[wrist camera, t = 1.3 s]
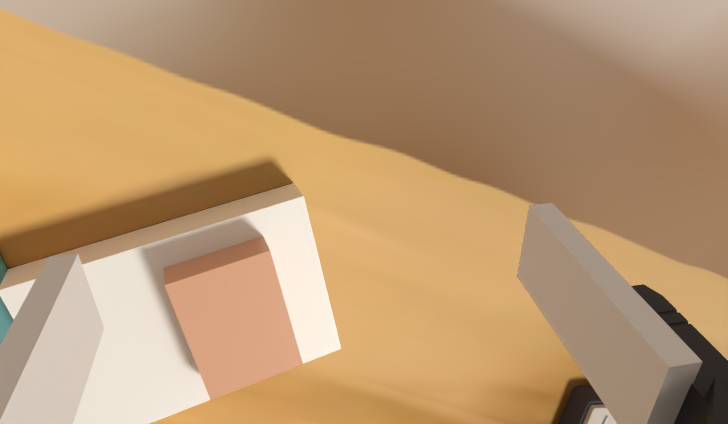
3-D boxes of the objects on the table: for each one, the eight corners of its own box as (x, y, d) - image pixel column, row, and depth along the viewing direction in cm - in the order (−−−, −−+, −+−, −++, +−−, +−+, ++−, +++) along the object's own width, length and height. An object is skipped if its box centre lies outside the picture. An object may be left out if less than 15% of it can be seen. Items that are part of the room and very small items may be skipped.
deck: (330, 328, 47) (341, 348, 45) (90, 419, 42) (86, 447, 40) (293, 183, 41) (303, 196, 38) (7, 269, 36) (-3, 290, 33)
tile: (295, 345, 43) (303, 364, 41) (207, 378, 41) (210, 400, 39) (263, 235, 38) (270, 250, 36) (163, 267, 37) (164, 285, 35)
